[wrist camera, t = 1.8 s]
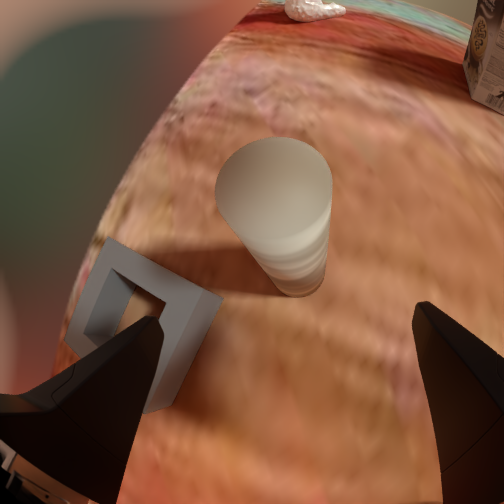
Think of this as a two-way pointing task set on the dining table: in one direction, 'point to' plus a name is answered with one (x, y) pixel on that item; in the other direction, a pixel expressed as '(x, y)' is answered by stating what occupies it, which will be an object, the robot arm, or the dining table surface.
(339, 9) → the sitting furry creature
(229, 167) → the peg
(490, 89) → the coffee box
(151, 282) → the socket block
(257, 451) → the dining table surface
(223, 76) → the dining table surface
